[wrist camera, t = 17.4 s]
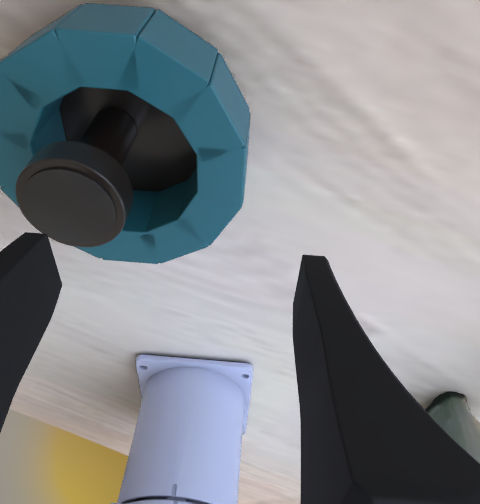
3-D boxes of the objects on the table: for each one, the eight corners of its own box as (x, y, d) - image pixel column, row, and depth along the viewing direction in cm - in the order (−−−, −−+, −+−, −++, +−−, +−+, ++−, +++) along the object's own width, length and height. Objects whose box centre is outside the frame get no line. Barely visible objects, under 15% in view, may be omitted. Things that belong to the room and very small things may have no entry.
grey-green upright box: (397, 393, 33) (423, 516, 27) (475, 382, 31) (521, 510, 25) (410, 431, 36) (435, 547, 30) (481, 422, 35) (523, 543, 29)
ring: (242, 228, 22) (238, 271, 20) (47, 212, 23) (22, 253, 20) (256, 14, 16) (253, 42, 14) (-16, -5, 16) (-63, 20, 14)
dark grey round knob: (215, 205, 23) (198, 304, 18) (46, 191, 23) (-17, 287, 18) (219, 21, 17) (196, 94, 12) (-6, 4, 17) (-118, 70, 12)
